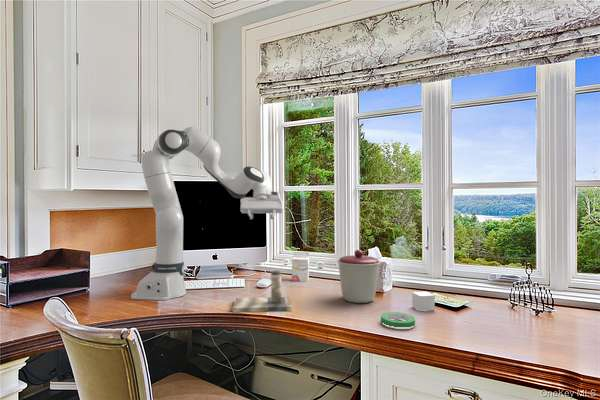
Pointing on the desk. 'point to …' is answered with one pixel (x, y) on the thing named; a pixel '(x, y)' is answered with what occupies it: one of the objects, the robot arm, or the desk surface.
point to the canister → (358, 277)
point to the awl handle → (276, 287)
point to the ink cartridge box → (300, 266)
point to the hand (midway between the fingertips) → (261, 218)
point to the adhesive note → (423, 301)
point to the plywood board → (261, 305)
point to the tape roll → (397, 315)
